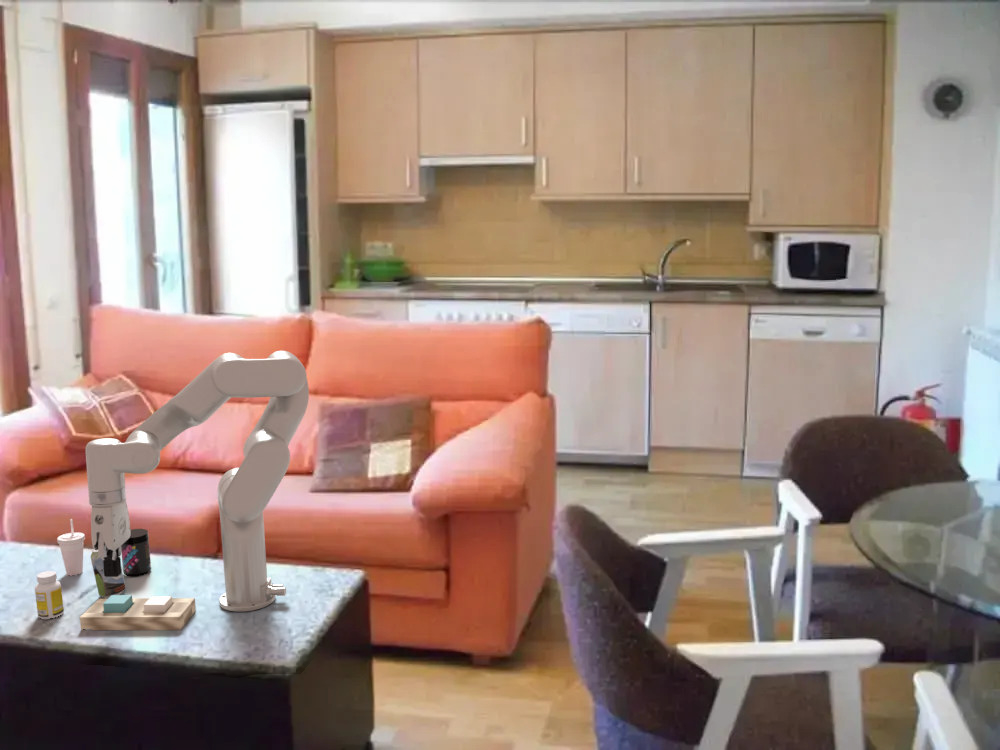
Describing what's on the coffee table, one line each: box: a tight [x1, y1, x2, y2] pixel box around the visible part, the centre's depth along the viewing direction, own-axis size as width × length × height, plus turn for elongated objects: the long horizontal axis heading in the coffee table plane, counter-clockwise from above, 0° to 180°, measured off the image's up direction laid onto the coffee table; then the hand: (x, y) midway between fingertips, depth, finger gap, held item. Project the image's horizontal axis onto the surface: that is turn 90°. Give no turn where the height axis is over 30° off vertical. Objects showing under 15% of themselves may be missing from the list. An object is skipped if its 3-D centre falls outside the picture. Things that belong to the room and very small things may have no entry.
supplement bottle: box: [34, 570, 65, 620], centre depth 224 cm, size 5×5×10 cm
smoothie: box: [56, 518, 86, 577], centre depth 248 cm, size 6×6×14 cm
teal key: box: [103, 594, 133, 613], centre depth 221 cm, size 5×5×3 cm
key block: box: [79, 597, 197, 631], centre depth 221 cm, size 22×10×3 cm, turn 88°
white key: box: [144, 595, 173, 613], centre depth 220 cm, size 5×5×3 cm
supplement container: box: [121, 528, 152, 578], centre depth 248 cm, size 7×7×10 cm
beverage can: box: [90, 549, 126, 599], centre depth 234 cm, size 6×7×12 cm
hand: (112, 575), depth 219 cm, fingers closed
